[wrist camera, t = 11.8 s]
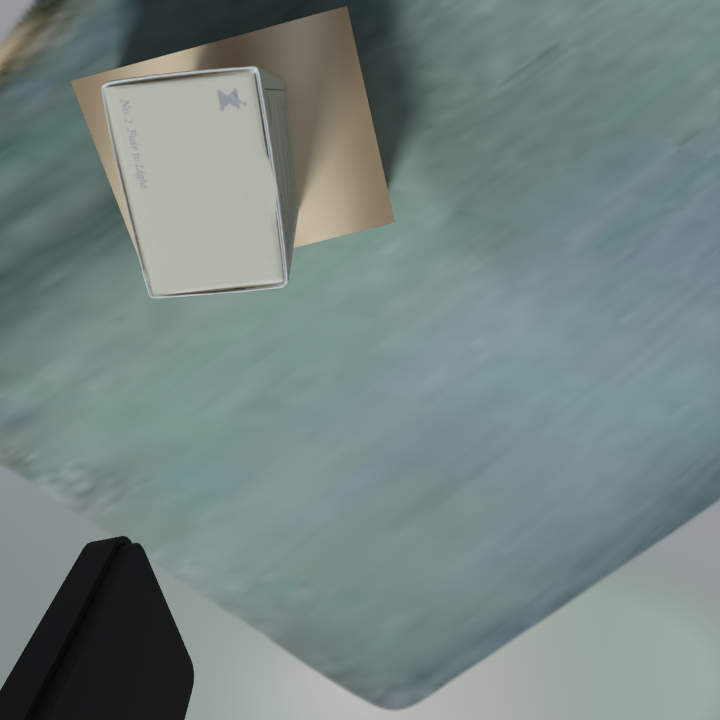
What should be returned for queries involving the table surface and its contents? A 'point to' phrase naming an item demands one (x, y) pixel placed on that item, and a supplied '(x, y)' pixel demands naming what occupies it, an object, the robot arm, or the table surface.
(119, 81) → the skincare box
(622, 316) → the table surface
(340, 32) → the birch trinket box
